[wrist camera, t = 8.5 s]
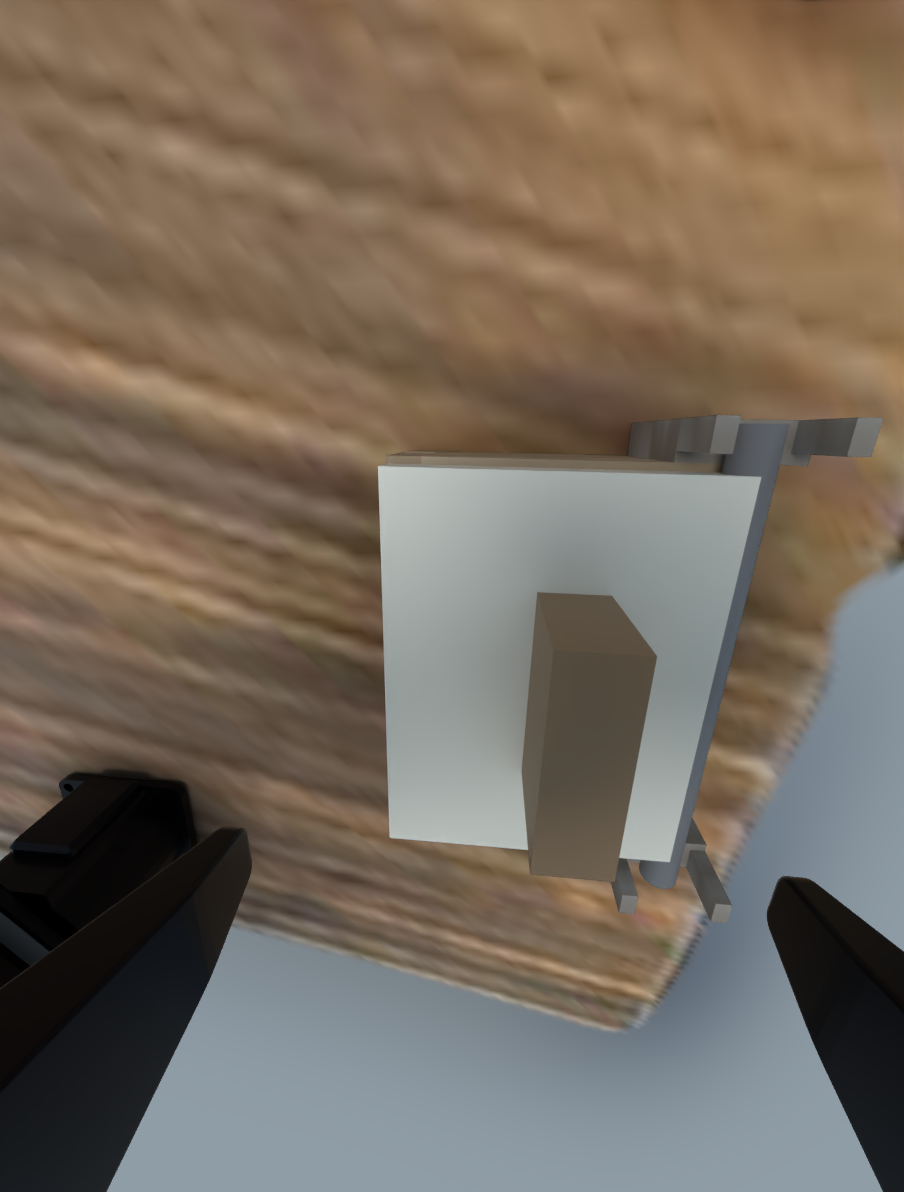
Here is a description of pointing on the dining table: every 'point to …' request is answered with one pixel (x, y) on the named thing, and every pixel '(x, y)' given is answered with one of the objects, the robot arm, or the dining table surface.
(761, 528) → the cabinet door
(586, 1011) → the dining table surface
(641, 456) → the cabinet
